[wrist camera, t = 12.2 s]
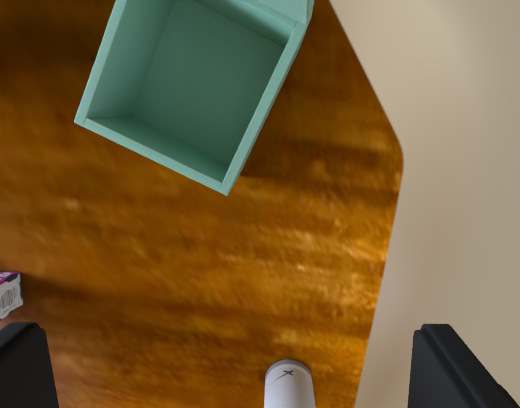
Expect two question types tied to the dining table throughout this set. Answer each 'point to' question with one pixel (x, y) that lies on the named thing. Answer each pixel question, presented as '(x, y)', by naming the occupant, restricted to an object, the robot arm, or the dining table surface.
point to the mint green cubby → (190, 82)
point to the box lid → (293, 9)
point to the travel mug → (288, 386)
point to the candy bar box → (10, 292)
